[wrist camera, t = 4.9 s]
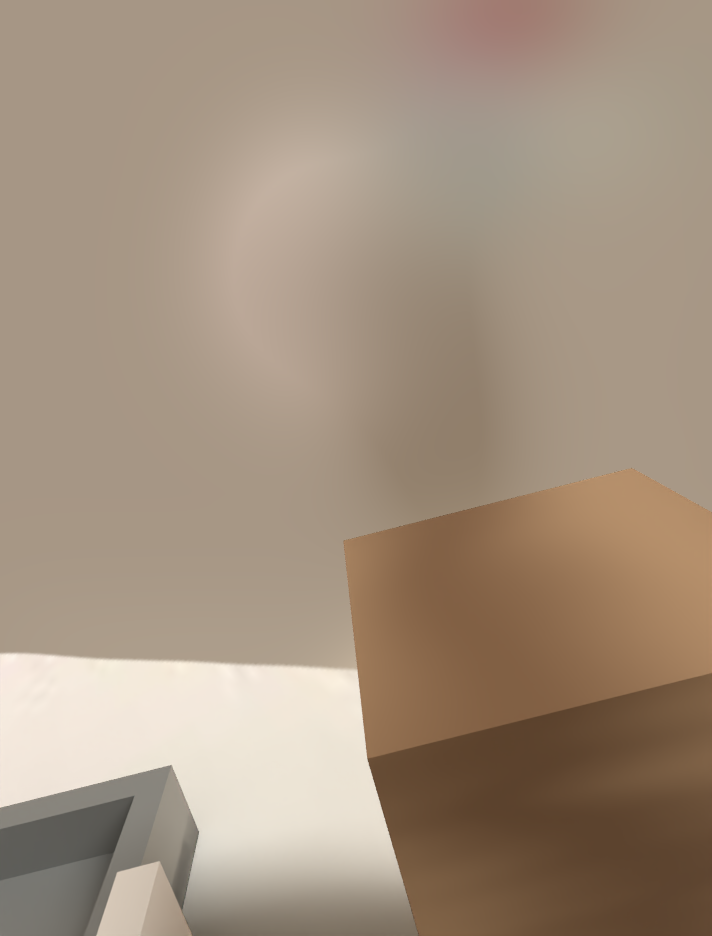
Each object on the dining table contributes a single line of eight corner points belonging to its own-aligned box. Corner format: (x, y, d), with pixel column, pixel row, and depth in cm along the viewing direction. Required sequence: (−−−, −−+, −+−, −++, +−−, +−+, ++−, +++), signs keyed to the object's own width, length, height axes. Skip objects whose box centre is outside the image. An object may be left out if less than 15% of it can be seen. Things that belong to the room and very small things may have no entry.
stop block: (682, 901, 16) (631, 468, 12) (895, 1254, 10) (911, 623, 6) (456, 956, 16) (343, 540, 12) (537, 1341, 10) (367, 758, 7)
